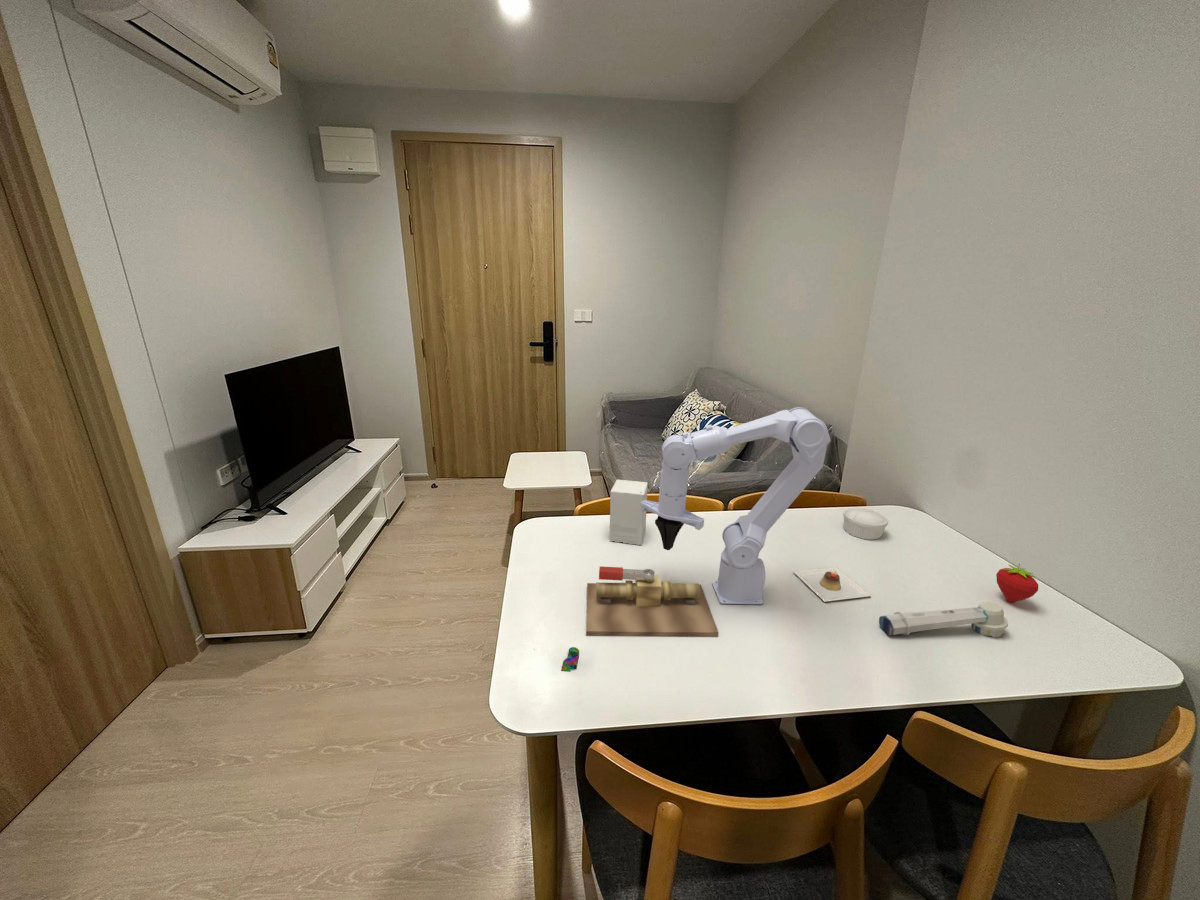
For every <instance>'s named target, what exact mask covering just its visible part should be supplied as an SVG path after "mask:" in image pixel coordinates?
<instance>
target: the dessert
mask: <svg viewBox="0 0 1200 900" xmlns="http://www.w3.org/2000/svg"><path fill="white" fill-rule="evenodd" d="M793 573H794V574H795V575H796V576H797V577H798V578H799V579H800V580H801V581H802V582H803V583H804V584H805V585H806V586H807V587H809V588H810V589H811V590H812V592H814V593H815V594H816V595H817V596H818V597H819V598H820V599H821V600H822V601H823V602H824V603H825V602H827V603H828V602H833V601H835V602H836V601H842V600H851V599H858V598H859V599H860V598H866V597H871V596H872V595H871V594H870V593H869V592H867V591H866V590H865V589H864V588H863V587H861V586H860V585H859V584H858V583H857V582H856V581H854V580H853V579H852V578H850V577H849V576H848V575H847V574H846V573H844V572H843V571H842V570H841V569H839V567H837V566H832V567H820V568H813V569H803V570H802V569H801V570H793ZM819 574H823V576H822V578H821V579H820V581H819V585H820V586H821V587H822V588H823V589H825V590H828V591H832V592H838V591H841V589H842V586H841V579H842V580H843V581H845V582H846V583H847V584H849V586H850V587H851V588H853V589H854V590H855V591H857V592H858V594H860V595H853V596H844V597H838V598H837V597H836V598H827V599H826V598H825V597H824V596H823V595H822V594H820V593H819V592H818V591H817V590H816V589H815V588H814V587H813V586H812V585H811V584H810V583H809V582H808V581H807V580H805V579H804V577H802V576H810V575H812V576H813V575H819Z"/></svg>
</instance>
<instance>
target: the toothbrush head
mask: <svg viewBox="0 0 1200 900" xmlns="http://www.w3.org/2000/svg"><path fill="white" fill-rule="evenodd" d="M1004 615H1005V611H1004V609H1003V606H1002V605H1000V604H998V603H996V602H994V601H983V602H981V603H980V604H979V605H977V606H976V607H965V608H953V609H939V610H938V609H937V610H927V611H925V610H924V611H914V612H902V611H897V612H894V613H893V614H887V615H881V616H879V618H878V625H879V627H880V630H882V631H883V633H884V634H885V635H886V636H895V635H902V636H909V635H910V634H911V633H916V632H924V631H929V630H930V631H931V630H935V629H938V630H939V629H943V628H950V627H957V626H965V625H971V629H972V630H973V631H975V632H976V633H978V634H980V635H982V636H986V637H987V636H989V637H992V639H993V638H1000V637H1001V635H1002V634H1003V635H1004V634H1005V629H1006V628H1007V627H1008V626H1009V621H1008V618H1006V617H1005V616H1004Z"/></svg>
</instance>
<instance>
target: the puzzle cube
mask: <svg viewBox="0 0 1200 900" xmlns="http://www.w3.org/2000/svg"><path fill="white" fill-rule="evenodd" d="M579 657H580V650H579V648H577V647H576V646H571V647H569V648H568V651H567V657H566V659H564V660H563V661H562V666H561V669H560V671H561V672H566V673H567V672H568V673H571V670H577V668H578V663H579V662H578V661H579Z"/></svg>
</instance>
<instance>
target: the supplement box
mask: <svg viewBox="0 0 1200 900" xmlns="http://www.w3.org/2000/svg"><path fill="white" fill-rule="evenodd" d="M648 486H649V485H648V482H647V481H646V482H645V481H635V480H627V479H626V480H625V479H616V480H615V482H614V484H613V486H612V488H611V490H610V493H609V494H610V495H609V496H610V497H609V499H610V503H609V506H610V507H609V540H610V541H609V540H608V541H609V542H612V541H615V542H614V543H619V542H623V543H622V544H627V543H628V544H627V545H629V544H630V545H635V544H636V545H637V546H642V544H643V542H644V541H643V540H644V537H645V534H646V526H647V525H646V524H647V511H646V510H645V511H641V510H640V504H641V502H642V501H644V500H648Z"/></svg>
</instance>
